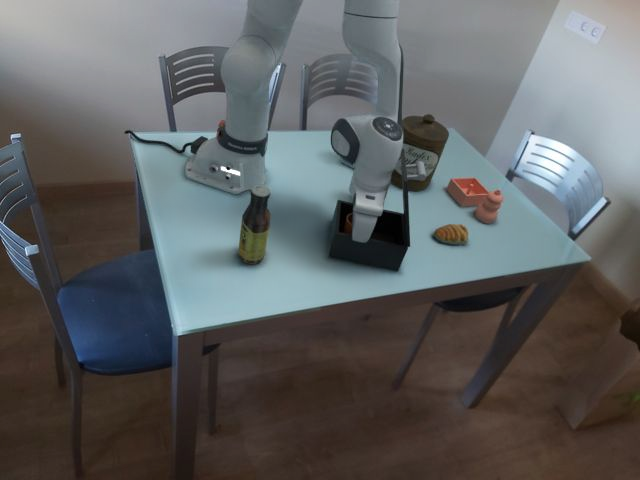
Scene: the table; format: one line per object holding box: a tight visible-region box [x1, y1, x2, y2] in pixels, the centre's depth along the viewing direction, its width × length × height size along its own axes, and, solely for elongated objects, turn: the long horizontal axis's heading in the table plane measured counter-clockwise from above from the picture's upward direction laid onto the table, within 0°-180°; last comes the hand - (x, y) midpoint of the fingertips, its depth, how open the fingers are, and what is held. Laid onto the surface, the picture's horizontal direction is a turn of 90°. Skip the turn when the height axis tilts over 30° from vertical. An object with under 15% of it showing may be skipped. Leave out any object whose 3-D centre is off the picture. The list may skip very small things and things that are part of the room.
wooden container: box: [391, 113, 450, 192], centre depth 143 cm, size 15×15×22 cm
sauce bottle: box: [237, 184, 272, 265], centre depth 103 cm, size 6×6×20 cm
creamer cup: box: [342, 213, 353, 235], centre depth 117 cm, size 6×6×6 cm
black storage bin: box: [327, 199, 409, 272], centre depth 118 cm, size 18×14×8 cm
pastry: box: [433, 223, 469, 246], centre depth 129 cm, size 9×7×4 cm
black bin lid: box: [401, 149, 426, 248], centre depth 110 cm, size 19×14×5 cm
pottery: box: [445, 176, 505, 225], centre depth 142 cm, size 18×10×10 cm, turn 22°
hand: (354, 231), depth 118 cm, fingers closed on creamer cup, 6 cm apart
